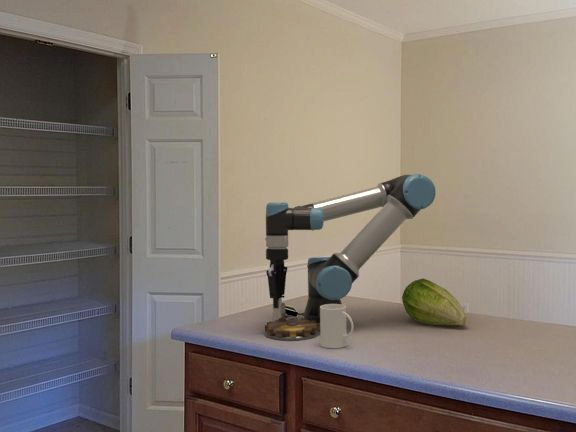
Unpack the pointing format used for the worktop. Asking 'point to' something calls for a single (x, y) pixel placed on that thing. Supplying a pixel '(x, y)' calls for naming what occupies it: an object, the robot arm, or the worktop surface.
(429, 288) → the lettuce
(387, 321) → the worktop surface
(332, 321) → the mug
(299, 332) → the sprocket
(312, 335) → the base plate
